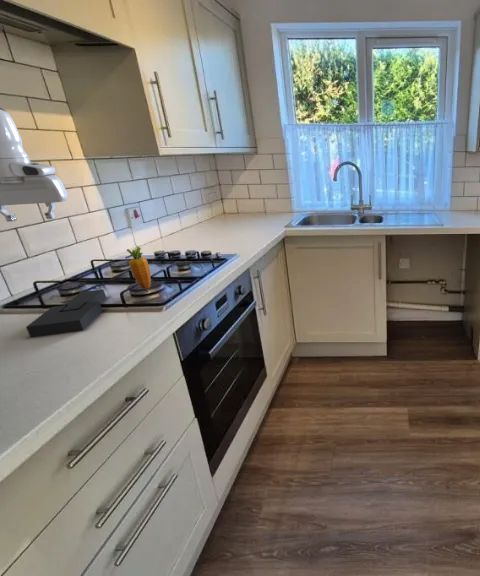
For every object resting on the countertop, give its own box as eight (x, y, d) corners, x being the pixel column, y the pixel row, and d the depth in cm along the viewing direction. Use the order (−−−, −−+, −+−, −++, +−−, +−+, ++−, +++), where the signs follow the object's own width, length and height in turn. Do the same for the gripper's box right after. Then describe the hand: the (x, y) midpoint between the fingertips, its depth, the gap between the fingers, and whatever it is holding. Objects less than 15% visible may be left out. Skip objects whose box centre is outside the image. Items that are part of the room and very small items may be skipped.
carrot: (134, 293, 116) (120, 248, 110) (148, 287, 121) (135, 244, 115) (146, 295, 115) (132, 250, 109) (159, 289, 119) (146, 245, 113)
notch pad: (30, 337, 92) (25, 326, 90) (55, 316, 102) (51, 306, 101) (83, 330, 94) (79, 320, 93) (102, 310, 105) (99, 301, 104)
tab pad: (60, 320, 100) (56, 311, 99) (84, 300, 112) (81, 291, 111) (86, 317, 101) (82, 308, 100) (106, 297, 114) (103, 289, 112)
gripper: (-46, 172, 93) (-21, 225, 99) (48, 168, 98) (67, 219, 104) (-28, 170, 99) (-5, 220, 104) (60, 166, 104) (77, 214, 109)
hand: (31, 219), depth 104 cm, fingers open, 8 cm apart
